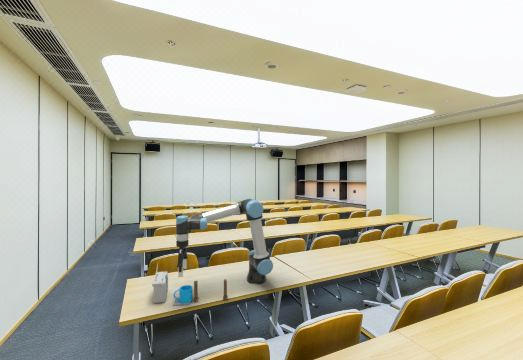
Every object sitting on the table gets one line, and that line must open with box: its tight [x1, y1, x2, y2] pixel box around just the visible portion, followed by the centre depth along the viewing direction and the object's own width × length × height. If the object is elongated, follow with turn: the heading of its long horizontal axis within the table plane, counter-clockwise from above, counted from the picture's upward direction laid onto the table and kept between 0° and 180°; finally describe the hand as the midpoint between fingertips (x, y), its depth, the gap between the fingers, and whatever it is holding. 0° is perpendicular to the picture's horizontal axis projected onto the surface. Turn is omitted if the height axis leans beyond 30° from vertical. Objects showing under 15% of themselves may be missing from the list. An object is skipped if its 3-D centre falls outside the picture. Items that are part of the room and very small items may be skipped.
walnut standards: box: [192, 278, 229, 303], centre depth 163 cm, size 22×4×13 cm, turn 97°
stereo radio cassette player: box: [151, 262, 169, 304], centre depth 167 cm, size 21×8×20 cm, turn 17°
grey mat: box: [172, 296, 191, 307], centre depth 161 cm, size 10×10×1 cm
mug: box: [173, 284, 194, 304], centre depth 161 cm, size 12×8×8 cm
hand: (182, 272), depth 161 cm, fingers open, 13 cm apart
